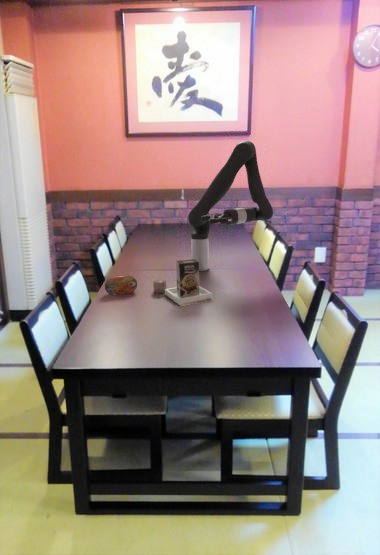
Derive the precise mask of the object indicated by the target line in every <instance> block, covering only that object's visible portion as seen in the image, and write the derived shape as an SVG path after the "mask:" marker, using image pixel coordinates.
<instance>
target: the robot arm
mask: <svg viewBox="0 0 380 555" xmlns="http://www.w3.org/2000/svg"><path fill="white" fill-rule="evenodd" d="M256 150H257V149H256V145H255V144H254V143H253V142H252V141H249V140H244V141H241V142H238V143H237V144H236V145H235V147H234V148H233V150H232V152H231V154H230V156H229V158H228V159H227V161H226V163H225V164H224V165H223V166H222V168H221V169H220V170H219V171H218V173H217V174H216V175H215V177H214V178H213V179H212V181H211V183H210V184H209V186H208V187H207V189H206V190H205V191H204V193H203V195H202V197H201V199H200V200H199V201H198V202H197V203H196V205H195V206H193V208H192V209H191V211H190V212H189V214H188V216H187V220H188V223H189V225H191V226H192V227H193V229H192V231H191V233H190V242H191V243H190V244H191V259H195V260H197V261H198V262H199V272H200V271H201V272H202V271H208V270H209V269H210V264H209V262H210V260H209V259H210V258H209V256H210V255H209V253H210V250H209V248H210V247H209V234H210V227H211V226H210V225H213V224H220V225H221V224H222V225H223V224H225V225H226V226H231V225H233V226H234V225H240V224H244V223H251V222H253V221H268V220H271V219H272V218H273V215H274V208H273V206H272V204H271V202H270V200H269V198H268V197H267V195H266V192H265V188H264V185H263V182H262V178H261V174H260V171H259V170H260V169H259V164H258V159H257V158H258V156H257V151H256ZM243 166H245V171H246V177H247V178H246V179H247V186H248V190H249V194H250V198H251V200H252V202H253V203H255V204H256V205H257V206H253V207H252V206H251V207H242V208H240V207H239V208H237V207H236V208H228V209H225V210H224V211H223V213H221V212H220V213H218V212H216V213H210V211H211V210H212V208H213V207H215V205H217V203H219V202H220V201H221V200H222V199H223V198H224V197H225V196H226V194H227V192H228V191H229V190H230V189H231V188H232V186H233V184H234V181H235V179H236V177H237V175H238V173H239V171H240V170H241V168H242V167H243Z"/></svg>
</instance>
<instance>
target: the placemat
mask: <svg viewBox="0 0 380 555" xmlns="http://www.w3.org/2000/svg"><path fill="white" fill-rule="evenodd" d="M210 300H212V301H213V298H212V299H208V300H203V301H198V302H193V303H188V304H183V305H179V306H180V307H181V306H182V307H186V305H187V306H192V305H196V304H195V303H197V304H201V302H202V303H205V301H207V302H211V301H210ZM191 304H192V305H191Z"/></svg>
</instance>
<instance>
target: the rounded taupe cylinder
mask: <svg viewBox="0 0 380 555" xmlns="http://www.w3.org/2000/svg"><path fill="white" fill-rule="evenodd" d="M165 289H167V280H165V279H161V278H158V279H155V280H153V293H154V294H156V293H163V294H165Z"/></svg>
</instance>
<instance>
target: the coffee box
mask: <svg viewBox="0 0 380 555" xmlns="http://www.w3.org/2000/svg"><path fill="white" fill-rule="evenodd" d="M175 264H176V266H175V267H176V268H175V269H176V287H177V295H178V296H179V297H180V298H186V297H191V296H196V295H199V286H200V271H199V262H198V261H197V260H195V259H192V258H190V259H182V260H181V259H180V260H179V259H178V260H175Z"/></svg>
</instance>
